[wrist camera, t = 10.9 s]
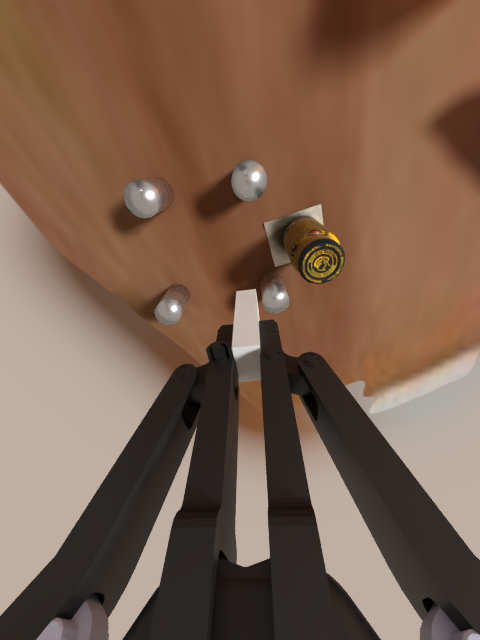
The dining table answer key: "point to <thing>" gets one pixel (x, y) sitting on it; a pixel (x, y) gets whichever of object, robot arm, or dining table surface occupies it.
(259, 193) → the cylinder
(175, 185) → the dining table surface
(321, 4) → the dining table surface
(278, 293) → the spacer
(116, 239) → the dining table surface
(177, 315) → the cylinder
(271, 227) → the condiment
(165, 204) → the cylinder
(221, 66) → the dining table surface
